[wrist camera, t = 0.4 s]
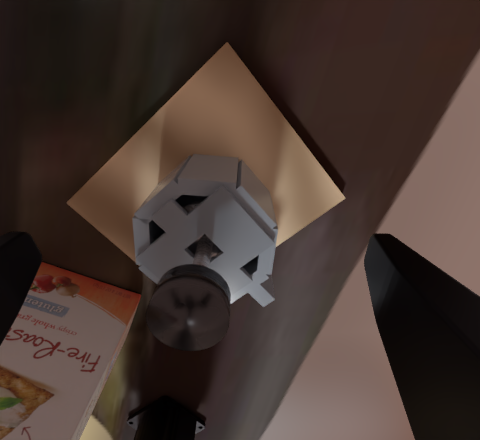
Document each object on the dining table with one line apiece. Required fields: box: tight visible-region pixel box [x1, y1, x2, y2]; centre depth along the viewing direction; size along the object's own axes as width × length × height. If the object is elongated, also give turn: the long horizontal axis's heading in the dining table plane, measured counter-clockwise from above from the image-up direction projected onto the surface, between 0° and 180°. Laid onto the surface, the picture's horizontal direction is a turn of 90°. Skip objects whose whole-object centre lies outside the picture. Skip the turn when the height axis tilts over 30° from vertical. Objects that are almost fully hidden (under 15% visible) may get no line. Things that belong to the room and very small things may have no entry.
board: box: [67, 42, 345, 266], centre depth 23 cm, size 16×13×1 cm
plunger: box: [146, 200, 231, 351], centre depth 16 cm, size 5×5×7 cm
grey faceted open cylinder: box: [132, 154, 278, 307], centre depth 20 cm, size 8×10×6 cm
